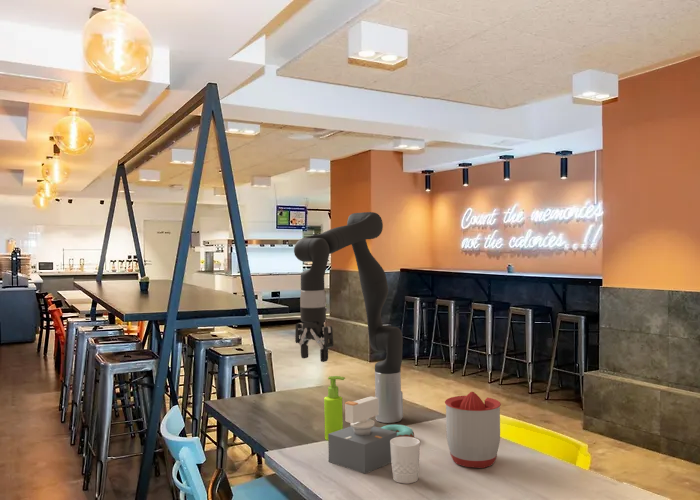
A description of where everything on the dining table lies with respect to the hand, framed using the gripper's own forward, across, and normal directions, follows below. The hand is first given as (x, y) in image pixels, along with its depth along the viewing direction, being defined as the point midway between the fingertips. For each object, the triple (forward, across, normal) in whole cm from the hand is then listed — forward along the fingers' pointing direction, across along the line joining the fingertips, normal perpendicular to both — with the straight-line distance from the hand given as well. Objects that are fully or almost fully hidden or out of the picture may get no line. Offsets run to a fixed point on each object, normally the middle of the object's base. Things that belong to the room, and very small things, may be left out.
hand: (314, 359), depth 174 cm
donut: (+29, -9, -26) cm, 40 cm away
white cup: (+29, -31, -4) cm, 42 cm away
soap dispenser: (+29, +7, -14) cm, 33 cm away
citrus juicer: (+29, -37, -28) cm, 54 cm away
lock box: (+28, -14, -6) cm, 32 cm away
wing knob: (+18, -14, -6) cm, 23 cm away
